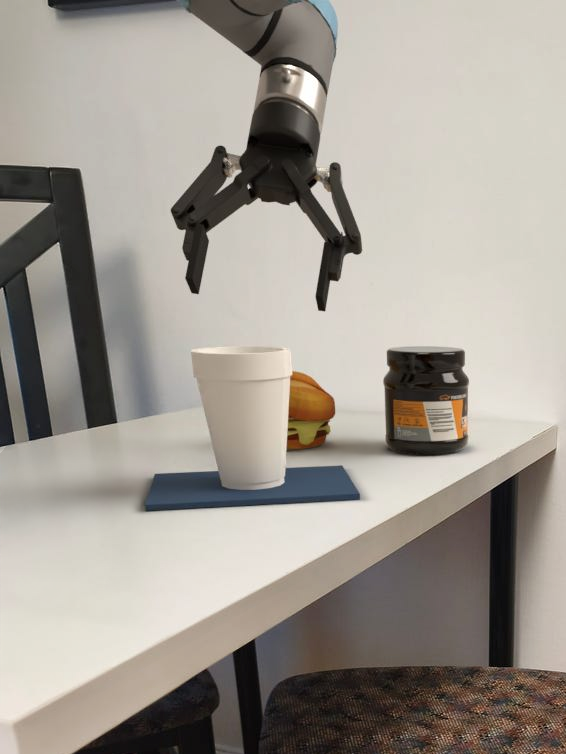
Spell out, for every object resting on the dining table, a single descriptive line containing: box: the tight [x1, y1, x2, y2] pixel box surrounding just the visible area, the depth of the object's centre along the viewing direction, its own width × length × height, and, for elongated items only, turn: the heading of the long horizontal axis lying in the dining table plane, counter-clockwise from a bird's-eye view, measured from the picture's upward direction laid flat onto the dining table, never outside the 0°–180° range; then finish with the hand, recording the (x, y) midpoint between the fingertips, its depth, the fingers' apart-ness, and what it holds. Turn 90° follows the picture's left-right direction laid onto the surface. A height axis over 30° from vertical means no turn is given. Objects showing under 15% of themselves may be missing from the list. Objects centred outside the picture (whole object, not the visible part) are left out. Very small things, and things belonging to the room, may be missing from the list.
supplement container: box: [382, 345, 470, 456], centre depth 110 cm, size 10×10×12 cm
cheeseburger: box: [286, 370, 336, 451], centre depth 112 cm, size 10×11×10 cm
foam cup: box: [190, 345, 293, 490], centre depth 89 cm, size 10×9×13 cm
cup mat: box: [144, 464, 361, 512], centre depth 91 cm, size 20×14×1 cm
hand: (256, 295), depth 94 cm, fingers open, 13 cm apart
